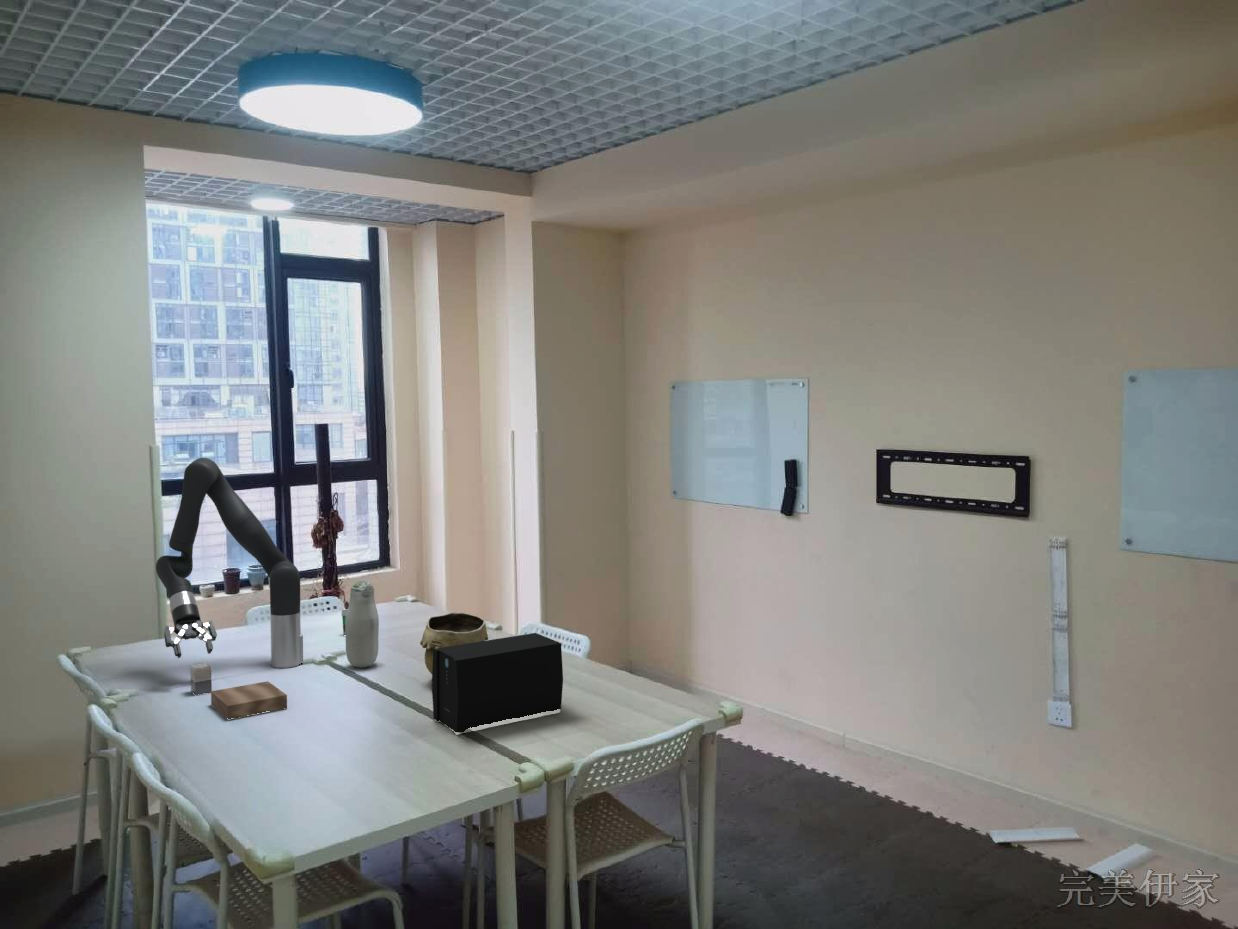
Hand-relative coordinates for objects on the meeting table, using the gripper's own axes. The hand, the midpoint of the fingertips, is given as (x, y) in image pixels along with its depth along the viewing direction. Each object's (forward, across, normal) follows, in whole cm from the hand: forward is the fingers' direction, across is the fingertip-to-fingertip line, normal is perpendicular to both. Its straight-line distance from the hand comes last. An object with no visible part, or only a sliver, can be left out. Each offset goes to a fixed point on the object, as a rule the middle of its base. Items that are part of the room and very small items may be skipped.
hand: (195, 654), depth 286 cm
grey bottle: (+13, +49, +1) cm, 51 cm away
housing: (+11, 0, +3) cm, 12 cm away
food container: (-16, +65, +31) cm, 74 cm away
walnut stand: (+27, +7, -12) cm, 30 cm away
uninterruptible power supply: (+61, +60, -47) cm, 98 cm away
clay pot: (+36, +65, -22) cm, 78 cm away
